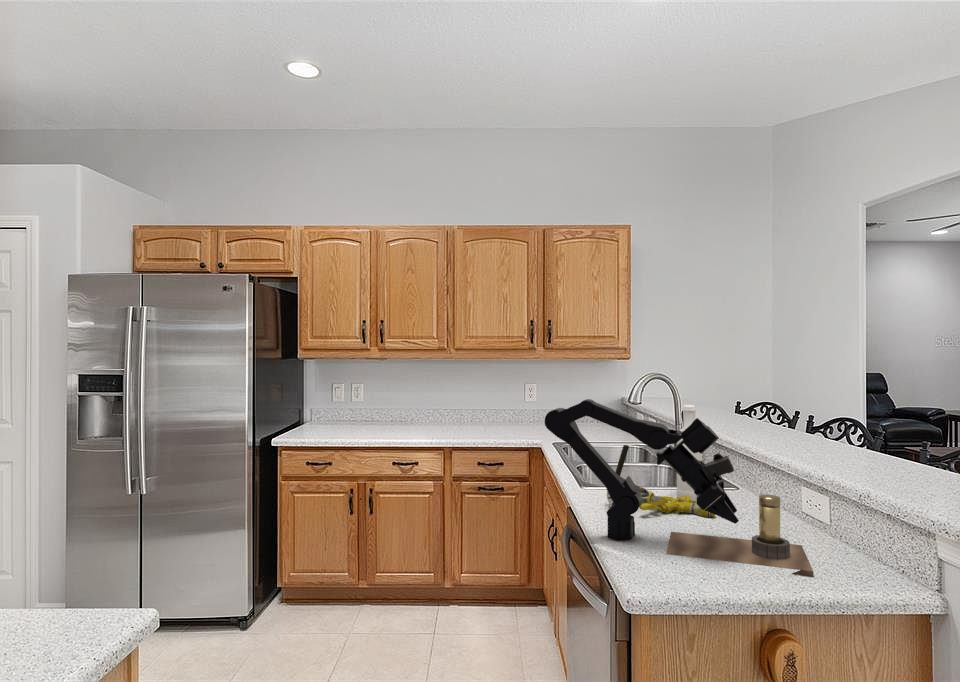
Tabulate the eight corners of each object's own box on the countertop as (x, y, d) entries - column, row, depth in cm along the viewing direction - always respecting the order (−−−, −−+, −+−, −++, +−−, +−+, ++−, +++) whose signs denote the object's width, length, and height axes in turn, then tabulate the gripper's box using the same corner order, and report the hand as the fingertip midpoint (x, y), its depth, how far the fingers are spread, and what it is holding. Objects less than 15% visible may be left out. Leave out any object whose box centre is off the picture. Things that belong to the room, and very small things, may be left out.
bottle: (708, 500, 192) (708, 406, 193) (688, 503, 189) (688, 407, 189) (690, 495, 200) (690, 403, 200) (671, 497, 197) (671, 404, 197)
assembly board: (666, 559, 140) (666, 540, 140) (670, 536, 157) (670, 519, 157) (813, 576, 129) (813, 557, 129) (801, 550, 146) (801, 532, 146)
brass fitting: (773, 557, 137) (773, 500, 137) (755, 552, 141) (755, 496, 141) (784, 554, 140) (784, 497, 140) (766, 548, 143) (765, 493, 144)
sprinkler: (723, 510, 182) (657, 498, 193) (723, 489, 181) (657, 478, 193) (702, 536, 164) (631, 521, 175) (703, 512, 163) (631, 499, 175)
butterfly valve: (640, 496, 197) (597, 497, 189) (657, 440, 192) (615, 439, 184) (657, 510, 189) (614, 512, 181) (676, 452, 185) (633, 452, 177)
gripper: (712, 450, 136) (766, 504, 132) (712, 438, 154) (760, 486, 150) (675, 482, 139) (727, 536, 135) (679, 467, 156) (725, 514, 152)
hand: (736, 516), depth 143 cm, fingers open, 9 cm apart
